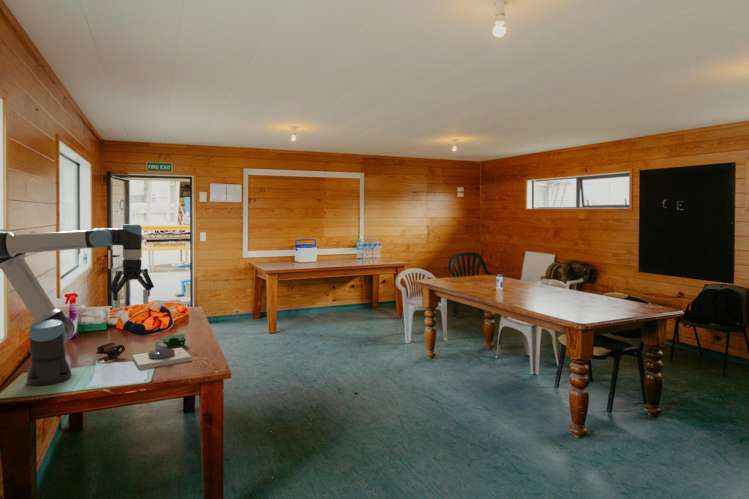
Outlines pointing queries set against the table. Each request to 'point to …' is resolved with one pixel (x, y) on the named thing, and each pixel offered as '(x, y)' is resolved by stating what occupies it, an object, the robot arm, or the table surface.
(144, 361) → the dial board
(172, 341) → the clamp
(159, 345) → the dial
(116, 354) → the pottery mug
